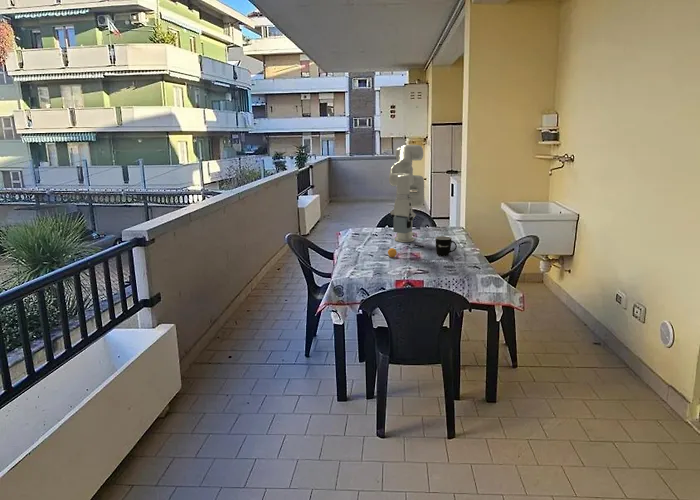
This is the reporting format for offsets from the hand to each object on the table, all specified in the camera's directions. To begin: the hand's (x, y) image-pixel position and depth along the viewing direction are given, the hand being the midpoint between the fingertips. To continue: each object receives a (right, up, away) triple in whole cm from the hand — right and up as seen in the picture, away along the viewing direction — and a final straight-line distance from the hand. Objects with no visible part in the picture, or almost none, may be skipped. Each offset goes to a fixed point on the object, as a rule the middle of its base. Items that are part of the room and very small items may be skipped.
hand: (402, 226), depth 290 cm
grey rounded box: (0, -3, +1) cm, 3 cm away
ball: (-6, -15, -5) cm, 17 cm away
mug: (+25, -17, -2) cm, 30 cm away
